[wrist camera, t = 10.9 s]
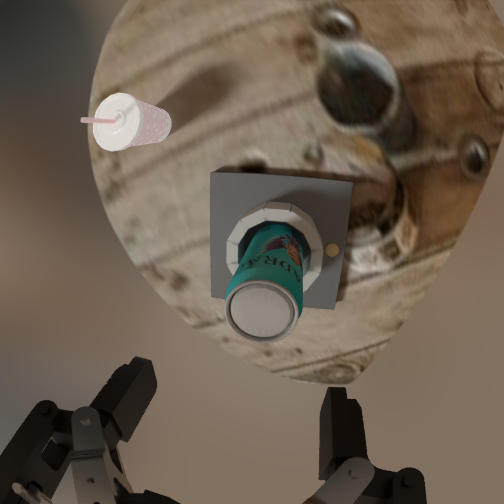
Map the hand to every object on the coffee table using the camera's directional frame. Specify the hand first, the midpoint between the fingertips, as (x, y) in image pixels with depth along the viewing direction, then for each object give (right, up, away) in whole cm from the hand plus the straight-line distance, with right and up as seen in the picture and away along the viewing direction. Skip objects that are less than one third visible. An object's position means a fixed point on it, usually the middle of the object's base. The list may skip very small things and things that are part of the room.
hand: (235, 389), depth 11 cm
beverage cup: (-11, +22, +21) cm, 32 cm away
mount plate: (+4, +7, +23) cm, 25 cm away
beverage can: (+4, +7, +22) cm, 23 cm away
